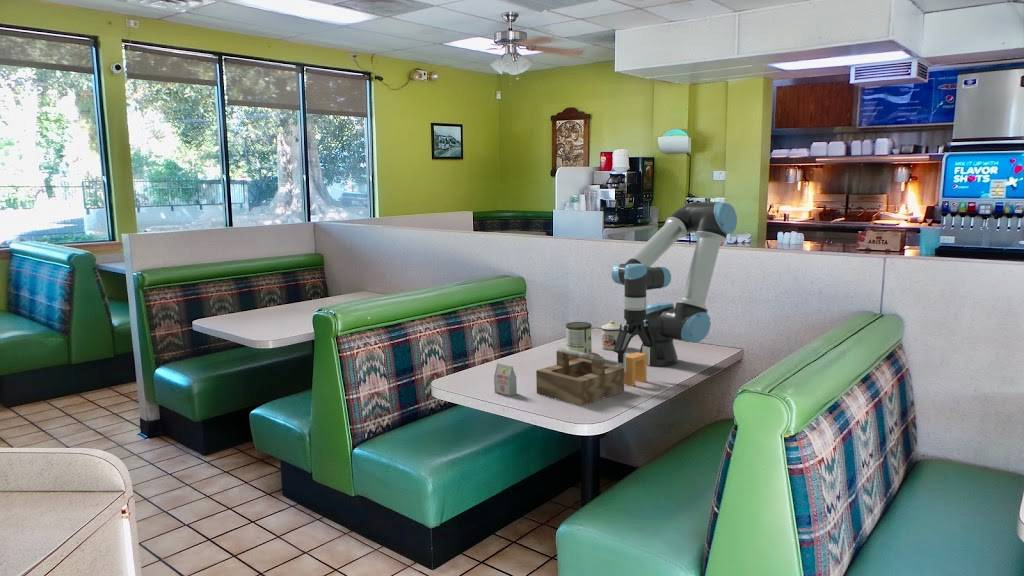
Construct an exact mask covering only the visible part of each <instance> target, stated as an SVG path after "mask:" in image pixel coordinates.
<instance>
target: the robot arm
mask: <svg viewBox="0 0 1024 576" xmlns="http://www.w3.org/2000/svg"><path fill="white" fill-rule="evenodd" d="M737 225H738V217H737V212H736V210H735V208H734V206H733V205H732V204H730V203H728V202H725V201H723V202H721V201H693V202H689V203H687V204H684V205H683V206H681V207H679V208H678V209H677V210H675V211H674V212H672V214H670V215H669V216H668V217H667V219H666V220H665V222H664V225H663V226H662V227H660V229H659V230H657V232H655V234H653V236H652V237H650V238H649V239H648V240H647V242H645V243H644V244H643V245H642V246H641V247H640V248H639V249H638V250H637V251H636V252H635V253H634V254H633V255H632V256H631V257H630V258H629V259H628V260H627V261H626V262H625V263H617V264H614V266H613V267H612V270H611V274H610V275H611V279H612V280H613V282H614V283H616V284H618V285H622V286H624V301H623V302H624V303H623V306H624V309H623V319H624V320H625V321H626V323H625V324H623V323H620V324H619V325H620V331H619V334H618V337H617V340H616V344H615V347H614V350H613V352H614V353H616V354H617V363H618V365H617V367H622V368H624V373H625V372H626V356H627V353H625V352H626V350H627V348H628V347H629V344H630V343H631V340H632V339H633V338H634V337H635V336H638V338H639V339H640V341H641V342H642V343H641V346H640V349H639V353H644V354H647V366H653V367H666V366H667V367H669V366H673V365H676V364H677V363H678V360H679V359H678V355H677V354H678V353H677V352H676V351H677V350H676V347H675V345H674V340H678V341H683V342H686V343H693V344H695V343H696V344H697V343H700V342H701V341H702V340H705V338H706V337H707V335H708V334H709V332H710V329H711V323H712V322H711V317H710V316H709V314H708V308H707V306H706V301H707V297H708V293H709V289H710V286H711V282H712V277H713V273H714V271H715V267H716V262H717V259H718V254H719V251H720V247H721V244H722V243H724V242H725V241H726V240H727V237H728V235H730V234H732V233H734V232H735V230H736V228H737ZM690 233H694V235H695V237H696V238H697V239H696V243H695V247H694V252H693V254H692V258H691V262H690V265H689V270H688V273H687V276H686V281H685V285H684V289H683V292H682V293H683V294H682V296H681V299H679V300H678V301H676V303H675V305H674V303H673V302H655V303H654V302H653V303H648V304H647V291H649V290H657V289H664V288H667V287H668V286H669V285H670V283H671V281H672V274H671V272H670V270H669V269H668V268H667V267H665V266H654V267H652V266H653V265H654V264H655V263H656V262H657V261H658V260H659V259H660V258H661V257H662V256H663V255H664V254H665V253H666V252H667V251H668V250H669V249H670V248H671V247H672V246H673V245H674V244H675V243H676V242H677V241H678V240H679V239H682V238H685V237H686V235H688V234H690ZM617 348H618V349H617Z"/></svg>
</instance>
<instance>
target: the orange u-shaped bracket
mask: <svg viewBox="0 0 1024 576" xmlns="http://www.w3.org/2000/svg"><path fill="white" fill-rule="evenodd" d="M639 352H640V351H639ZM639 352H637V351H636V352H634V353H630V354H626V372H625V373H624V385H625V384H627V385H626V386H629V385H630V386H629V387H635V386H636V382H640V381H641V382H640V383H647V375H648V374H647V370H648V369H647V366H648V365H647V354H644V353H639ZM636 380H637V381H636ZM634 385H635V386H634Z"/></svg>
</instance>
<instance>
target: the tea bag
mask: <svg viewBox="0 0 1024 576" xmlns="http://www.w3.org/2000/svg"><path fill="white" fill-rule="evenodd" d="M493 379H494V380H493V381H494V383H493V384H494V393H495V394H498V395H502V396H507V397H511V396H514V395H516V394H517V375H516V372H515V370H514V367H513V365H508V364H504V363H499V362H497V363H496V368H495V373H494V375H493ZM517 395H518V394H517Z"/></svg>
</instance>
